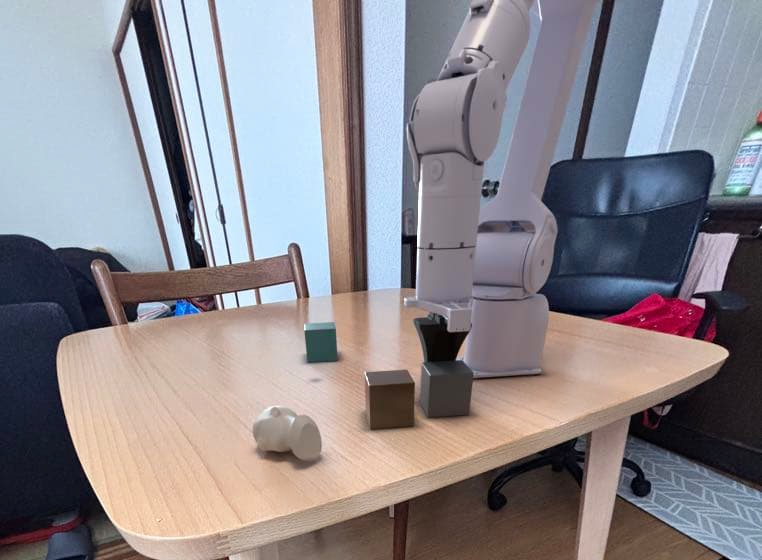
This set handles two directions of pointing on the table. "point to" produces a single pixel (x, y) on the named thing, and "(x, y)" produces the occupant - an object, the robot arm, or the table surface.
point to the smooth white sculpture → (287, 432)
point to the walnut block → (389, 399)
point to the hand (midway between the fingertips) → (437, 385)
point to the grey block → (446, 388)
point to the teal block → (321, 342)
